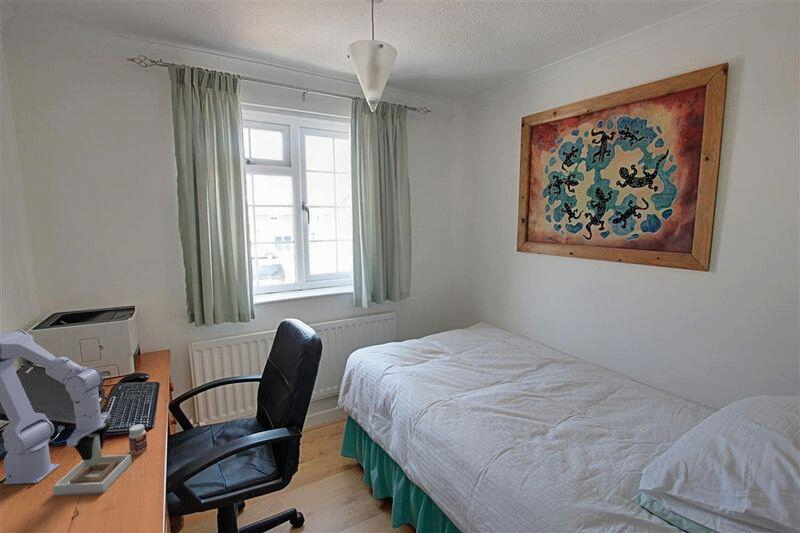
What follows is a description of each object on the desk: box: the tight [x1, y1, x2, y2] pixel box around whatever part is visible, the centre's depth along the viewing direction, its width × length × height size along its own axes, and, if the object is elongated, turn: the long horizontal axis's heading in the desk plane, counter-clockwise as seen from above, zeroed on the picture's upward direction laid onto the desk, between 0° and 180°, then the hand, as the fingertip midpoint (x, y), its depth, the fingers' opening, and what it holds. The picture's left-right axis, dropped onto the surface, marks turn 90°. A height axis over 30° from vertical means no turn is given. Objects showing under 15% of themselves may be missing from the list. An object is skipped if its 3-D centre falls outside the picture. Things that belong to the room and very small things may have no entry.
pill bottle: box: [128, 423, 148, 456], centre depth 125 cm, size 5×5×8 cm
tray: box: [52, 453, 133, 497], centre depth 113 cm, size 13×13×3 cm
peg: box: [84, 433, 103, 467], centre depth 111 cm, size 4×4×8 cm
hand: (92, 454), depth 112 cm, fingers closed on peg, 4 cm apart
